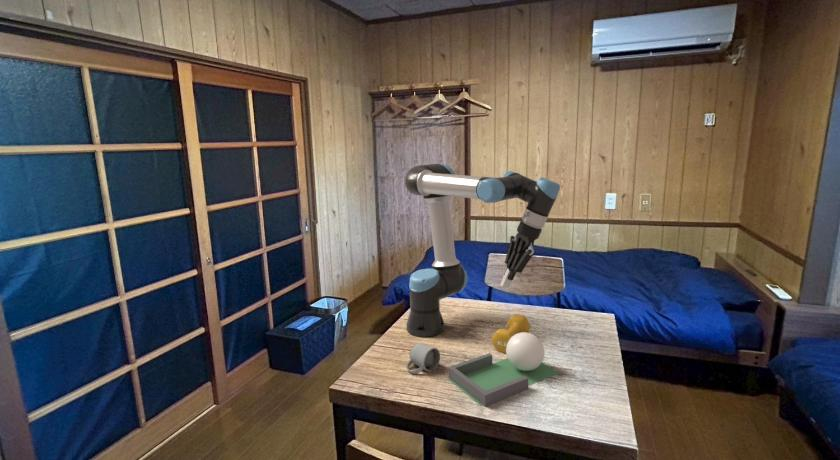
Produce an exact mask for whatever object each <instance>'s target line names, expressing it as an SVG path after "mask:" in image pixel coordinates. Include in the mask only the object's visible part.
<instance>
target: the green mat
mask: <svg viewBox="0 0 840 460" xmlns="http://www.w3.org/2000/svg"><path fill="white" fill-rule="evenodd" d="M558 374H560V371H558V370H557V369H555V368H552V366H549V365H547V364H546V363H544V362H542V363H541V364H540V365H539V366H538V367H537V368H536V369H534V370H531V371H522V370H519V369H517V368H515V367H514V366H513V365H512V364H511V363H510V362H509V360H508V358H504V359H501V360H498V361H495V362H494V363H493V362H492V365H490V366H487V367H485V368H482V369H479V370H476V371H474V372H471V373H468V374H465V376H466V377H468V378H469V379H470V380H472V381H473V382H474V383H476V384H477V385H478V386H480V387H481V388H482V389H484V390H485V391H487V390H490V389H492V388H495V387H497V386H500V385H502V384H505V383H507V382H510V381H513V380H515V379H518V378H520V377H523V376H526V377H528V387H529V386H531V385H534V384H536V383H539V382H541V381H544V380H546V379H548V378H549V379H550V378H551V377H553V376H555V375H558ZM448 381H449V382H450V383H452V384H453V385H454V386H455V387H456V388H458V389H459V390H460V391H462V392H463V393H464V394H465V395H466V396H468V397H469V398H470V399H472V400H473V401H474V402H475V403H476V404H478V405H479V406H480V407H481V406H483V405H482V404H481V403H480V402H479V401H477V400H476V399H475V398H474V397H472V396H471V395H470V394H469V393H467V392H466V391H465V390H464V389H462V388H461V387H460V386H459V385H457V384H456V383H455V382H454V381H452V380H451V379H450V378H448Z"/></svg>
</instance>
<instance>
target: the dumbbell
mask: <svg viewBox="0 0 840 460" xmlns="http://www.w3.org/2000/svg"><path fill="white" fill-rule="evenodd" d="M506 327H507V328H498V329H497V330H496V332H494V334H493V336H492V337H491V343H492V345H493V348H494V349H495V351H497V352H499V353H503V354H506V347H507V343H508V341H509V340H510V338H511V337H512V336H514V335H515V334H518V333H522V332H526V333H530V330H531V329H532V328H531V327H532V326H531V324H530V321H529V319H528V318H527V317H526V316H525V315H522V314H512V315H511V316H510V318H509V319H508V321H507V322H506Z"/></svg>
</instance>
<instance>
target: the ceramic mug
mask: <svg viewBox="0 0 840 460" xmlns="http://www.w3.org/2000/svg"><path fill="white" fill-rule="evenodd" d="M439 350H440V349H438V348H437V347H435V346H431V345H428V344H425V343H421V342H417V343H415V344H414V345H413V346H412V347H411V349H410V351H409V360H408V362H407V364H406V370H407V372H408V373H409V374H412V375H417V374H419V373H421V372H422V371H423V370H424V371H426V372H432V371H433V370H436V369H437V367H438V366H439V364H440V362H441V353H440V351H439ZM413 364H414V365H416V366H417V367H418V368H416V369H414V370H411V369H410V367H411V366H412V365H413ZM427 367H429V368H427Z"/></svg>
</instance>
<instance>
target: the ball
mask: <svg viewBox="0 0 840 460" xmlns="http://www.w3.org/2000/svg"><path fill="white" fill-rule="evenodd" d="M505 354H506V357H507V358H508V360H509V362H510V363H511V364H512V365H513V366H514V367H515V368H517V369H519V370H522V371H531V370H534V369H536V368H537V367H538V366H539V365H540V364H541V363H543V361H544V358H545V348H544V345H543V342H542V341H541V340H540V338H539V337H538V336H536V335H535V334H532V333H530V332H528V333H526V332H522V333H518V334H515V335H514V336H512V337H511V338H510V340H509V341H508V343H507V347H506V353H505ZM507 358H506V359H507Z"/></svg>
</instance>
